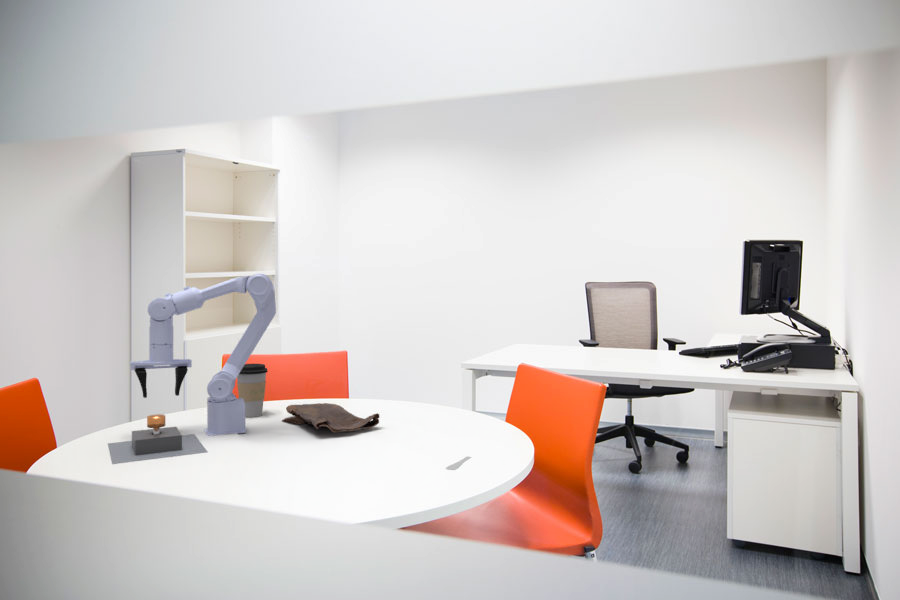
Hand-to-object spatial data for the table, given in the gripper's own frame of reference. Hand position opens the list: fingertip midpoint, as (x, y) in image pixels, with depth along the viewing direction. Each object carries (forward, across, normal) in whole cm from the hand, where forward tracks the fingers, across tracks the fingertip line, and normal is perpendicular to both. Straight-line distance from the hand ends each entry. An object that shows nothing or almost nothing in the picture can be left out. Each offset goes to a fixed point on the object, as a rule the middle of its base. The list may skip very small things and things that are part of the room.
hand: (161, 396), depth 170 cm
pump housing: (+10, +2, +14) cm, 17 cm away
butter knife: (+10, -61, +55) cm, 83 cm away
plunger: (+10, +2, +14) cm, 18 cm away
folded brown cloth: (+10, -43, +8) cm, 45 cm away
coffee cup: (+10, -26, -14) cm, 32 cm away
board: (+10, +2, +14) cm, 18 cm away
